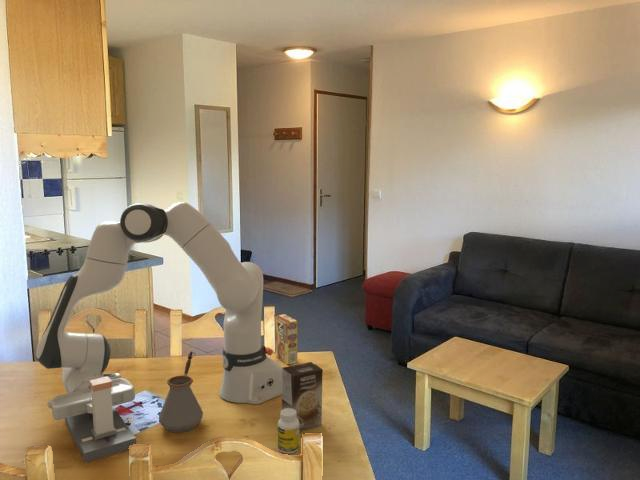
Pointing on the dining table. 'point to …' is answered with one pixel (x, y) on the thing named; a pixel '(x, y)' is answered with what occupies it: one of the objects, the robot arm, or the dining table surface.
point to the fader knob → (102, 407)
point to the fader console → (100, 447)
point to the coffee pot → (181, 404)
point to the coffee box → (303, 393)
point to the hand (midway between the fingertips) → (101, 411)
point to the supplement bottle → (288, 431)
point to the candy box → (286, 338)
